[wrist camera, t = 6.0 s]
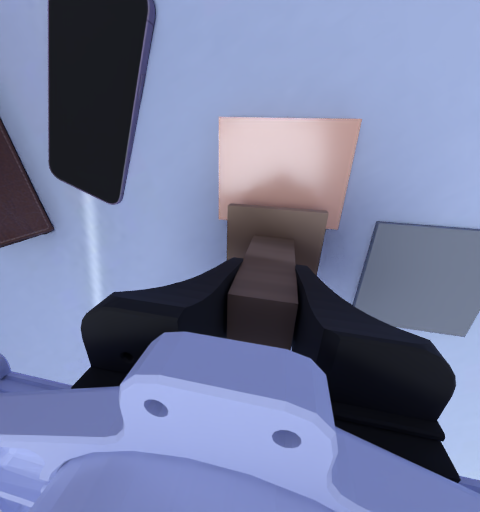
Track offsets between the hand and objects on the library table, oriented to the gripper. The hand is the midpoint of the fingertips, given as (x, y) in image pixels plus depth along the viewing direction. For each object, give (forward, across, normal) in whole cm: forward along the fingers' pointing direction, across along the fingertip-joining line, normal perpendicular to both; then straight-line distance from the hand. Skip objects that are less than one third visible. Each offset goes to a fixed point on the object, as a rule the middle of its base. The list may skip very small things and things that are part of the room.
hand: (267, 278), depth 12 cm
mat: (+8, -12, +3) cm, 15 cm away
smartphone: (+9, +15, -9) cm, 20 cm away
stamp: (+4, 0, 0) cm, 4 cm away
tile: (+8, 0, -1) cm, 8 cm away
